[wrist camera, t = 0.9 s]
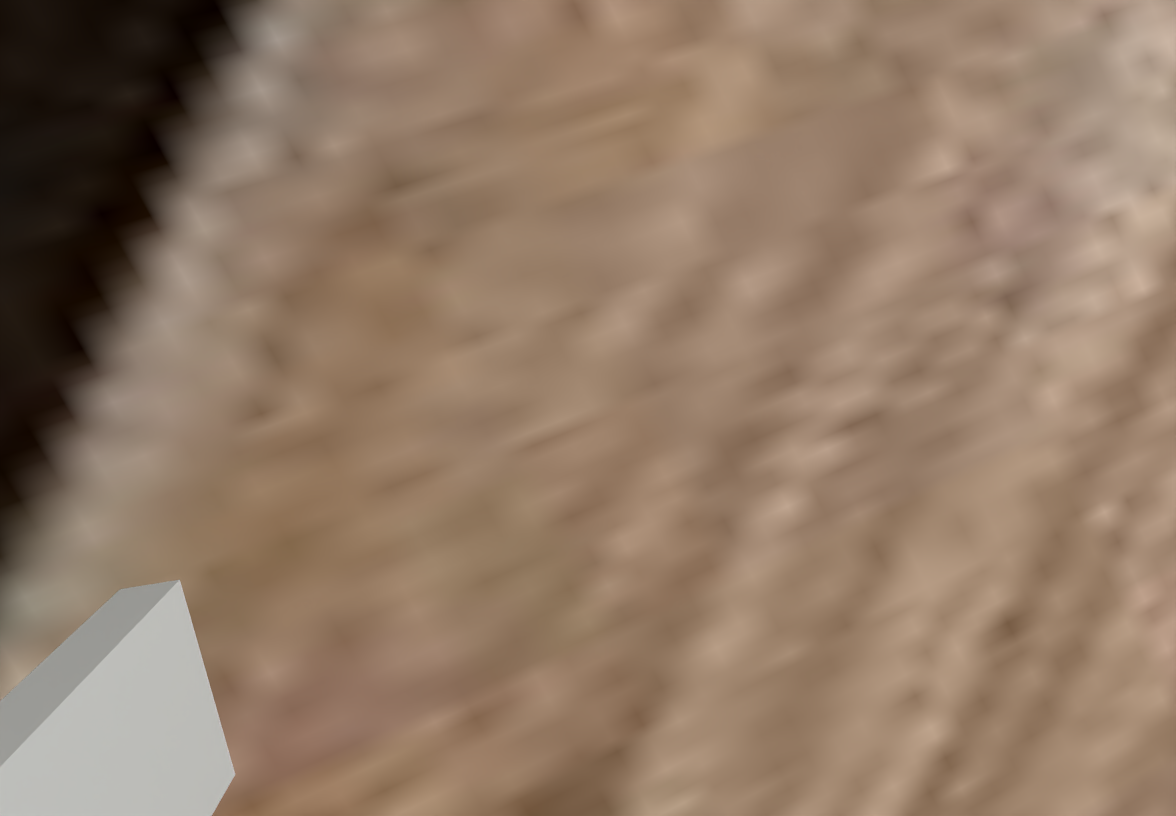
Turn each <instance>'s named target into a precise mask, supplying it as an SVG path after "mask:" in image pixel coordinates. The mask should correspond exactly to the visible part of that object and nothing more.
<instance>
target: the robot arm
mask: <svg viewBox="0 0 1176 816" xmlns="http://www.w3.org/2000/svg"><path fill="white" fill-rule="evenodd" d="M234 776H235V772H234V768H233V765H232V761H231V758H230V754H229V751H228V747H227V744H226V740H225V737H224V733H223V730H222V726H221V723H220V719H219V716H218V712H217V709H216V705H215V702H214V698H213V695H212V691H211V688H210V684H209V681H208V677H207V674H206V670H205V667H204V663H203V660H202V656H201V653H200V649H199V646H198V642H197V639H196V635H195V632H194V628H193V625H192V621H191V618H190V614H189V611H188V607H187V604H186V600H185V597H184V593H183V590H182V586H181V583H180V580H176V581H169V582H163V583H157V584H151V585H144V586H138V587H132V588H126V589H120V590H119V591H118V592H117V593H116V594H115V595H113V596H112V597H111V598H110V599H109V600H108V601H107V602H106V603H105V604H104V605H103V606H102V607H101V608H100V609H98V610H97V611H96V612H95V613H94V614H93V615H92V616H91V617H90V618H89V619H88V620H87V621H86V622H85V623H83V624H82V625H81V626H80V627H79V628H78V629H77V630H76V631H75V632H74V633H73V634H72V635H71V636H69V637H68V638H67V639H66V640H65V641H64V642H63V643H62V644H61V645H60V646H59V647H58V648H57V649H56V650H54V651H53V652H52V653H51V654H50V655H49V656H48V657H47V658H46V659H45V660H44V661H43V662H42V663H41V664H39V665H38V666H37V667H36V668H35V669H34V670H33V671H32V672H31V673H30V674H29V675H28V676H27V677H25V678H24V679H23V680H22V681H21V682H20V683H19V684H18V685H17V686H16V687H15V688H14V689H13V690H12V691H10V692H9V693H8V694H7V695H6V696H5V697H4V698H3V699H2V700H1V701H0V816H212V814H213V812H214V811H215V809H216V807H217V805H218V804H219V802H220V800H221V798H222V797H223V795H224V793H225V791H226V790H227V788H228V786H229V784H230V783H231V781H232V779H233V777H234Z"/></svg>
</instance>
